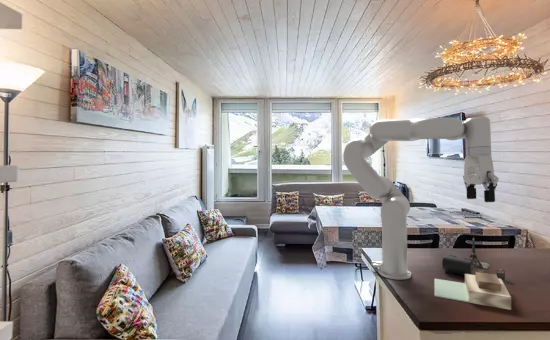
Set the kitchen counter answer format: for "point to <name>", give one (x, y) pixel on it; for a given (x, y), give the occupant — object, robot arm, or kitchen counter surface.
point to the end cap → (457, 265)
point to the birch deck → (487, 294)
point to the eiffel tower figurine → (475, 259)
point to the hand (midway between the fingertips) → (480, 200)
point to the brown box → (488, 281)
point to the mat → (450, 290)
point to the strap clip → (502, 276)
